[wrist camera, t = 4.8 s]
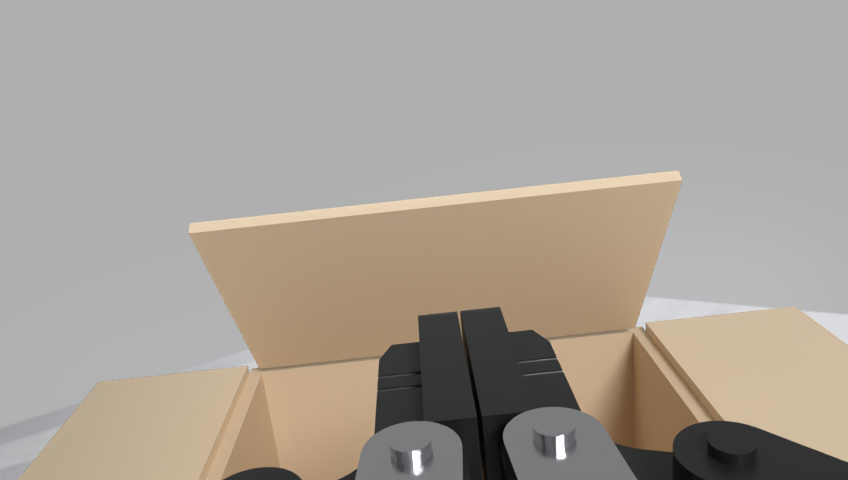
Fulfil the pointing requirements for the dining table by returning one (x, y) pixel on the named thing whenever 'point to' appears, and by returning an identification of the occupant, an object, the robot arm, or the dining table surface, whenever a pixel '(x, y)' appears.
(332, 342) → the flap
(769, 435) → the robot arm
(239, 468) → the carton
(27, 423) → the dining table surface
